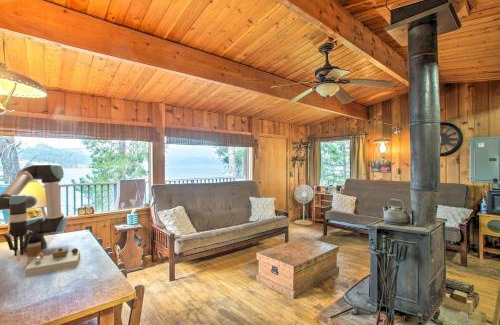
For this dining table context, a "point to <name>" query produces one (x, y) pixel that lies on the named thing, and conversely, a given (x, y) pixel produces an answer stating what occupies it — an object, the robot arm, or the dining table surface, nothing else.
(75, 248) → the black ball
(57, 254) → the cover
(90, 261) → the dining table surface
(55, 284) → the dining table surface
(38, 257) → the steel ball
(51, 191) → the robot arm
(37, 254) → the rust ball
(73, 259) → the deck
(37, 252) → the coffee cup
